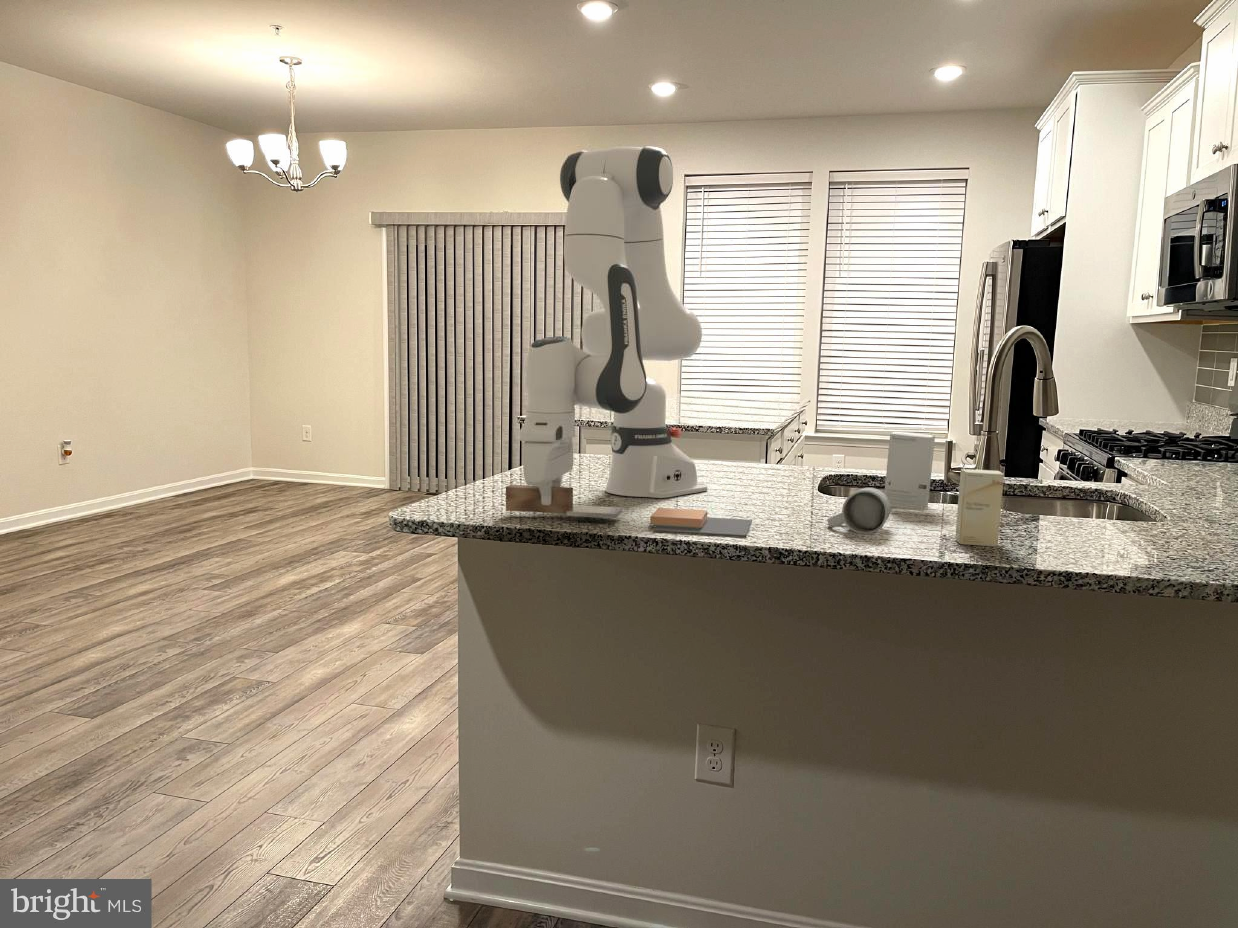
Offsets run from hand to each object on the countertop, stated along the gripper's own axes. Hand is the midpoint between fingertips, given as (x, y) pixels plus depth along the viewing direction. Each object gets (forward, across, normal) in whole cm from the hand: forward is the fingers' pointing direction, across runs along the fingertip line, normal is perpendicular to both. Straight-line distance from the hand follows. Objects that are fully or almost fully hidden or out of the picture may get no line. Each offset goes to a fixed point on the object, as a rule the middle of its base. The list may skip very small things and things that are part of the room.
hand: (550, 502), depth 165 cm
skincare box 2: (+3, 0, +74) cm, 74 cm away
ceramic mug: (+3, -5, +55) cm, 55 cm away
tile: (+2, 0, +19) cm, 19 cm away
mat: (+3, 0, +28) cm, 28 cm away
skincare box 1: (+3, -29, +66) cm, 72 cm away
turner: (+2, 0, +2) cm, 3 cm away
